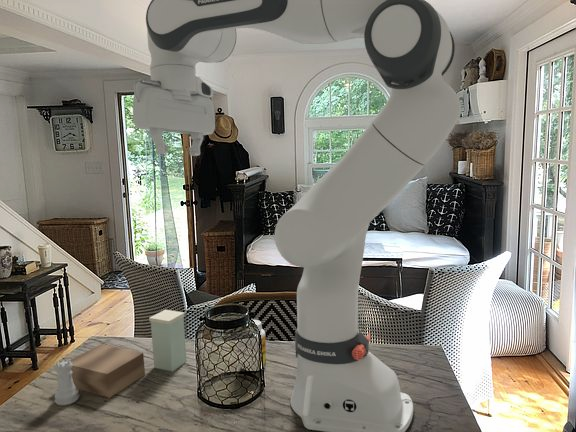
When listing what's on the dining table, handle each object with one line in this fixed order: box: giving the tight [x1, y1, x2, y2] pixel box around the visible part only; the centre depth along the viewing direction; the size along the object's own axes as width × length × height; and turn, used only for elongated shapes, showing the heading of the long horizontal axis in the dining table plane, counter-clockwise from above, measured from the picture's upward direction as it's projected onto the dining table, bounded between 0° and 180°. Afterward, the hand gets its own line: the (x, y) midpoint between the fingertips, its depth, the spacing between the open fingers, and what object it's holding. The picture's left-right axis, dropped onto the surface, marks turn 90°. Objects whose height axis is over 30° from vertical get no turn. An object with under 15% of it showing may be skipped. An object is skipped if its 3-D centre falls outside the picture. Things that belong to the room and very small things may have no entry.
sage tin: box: [148, 309, 187, 372], centre depth 105 cm, size 5×5×12 cm
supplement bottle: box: [252, 319, 267, 369], centre depth 102 cm, size 6×6×10 cm
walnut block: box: [70, 343, 146, 399], centre depth 99 cm, size 12×10×5 cm
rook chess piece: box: [54, 358, 80, 407], centre depth 91 cm, size 4×4×8 cm
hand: (179, 154), depth 95 cm, fingers open, 8 cm apart
